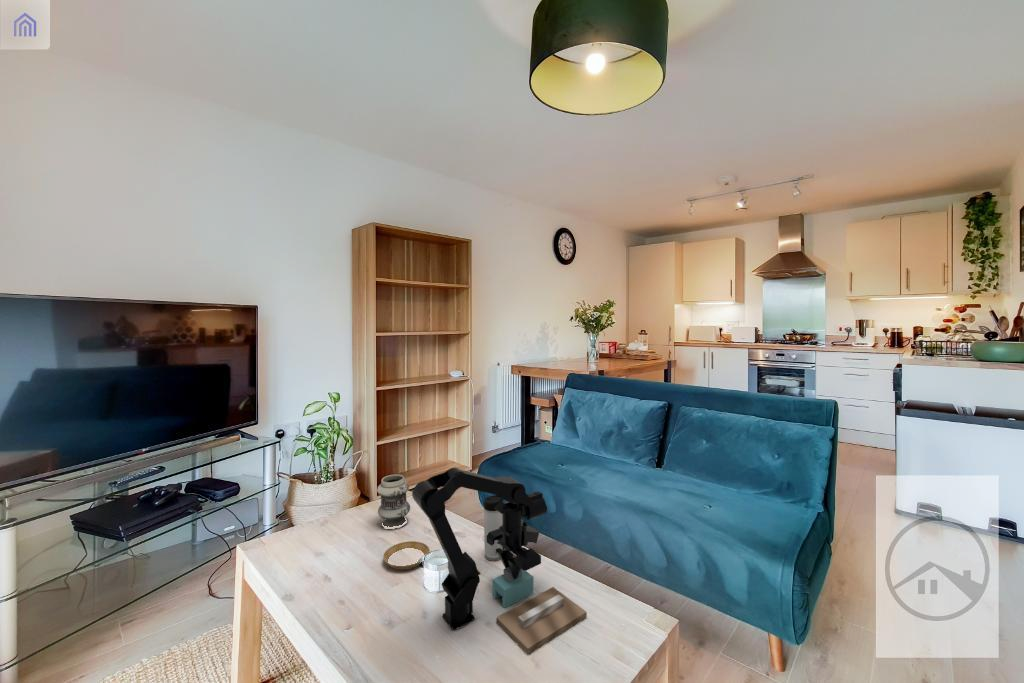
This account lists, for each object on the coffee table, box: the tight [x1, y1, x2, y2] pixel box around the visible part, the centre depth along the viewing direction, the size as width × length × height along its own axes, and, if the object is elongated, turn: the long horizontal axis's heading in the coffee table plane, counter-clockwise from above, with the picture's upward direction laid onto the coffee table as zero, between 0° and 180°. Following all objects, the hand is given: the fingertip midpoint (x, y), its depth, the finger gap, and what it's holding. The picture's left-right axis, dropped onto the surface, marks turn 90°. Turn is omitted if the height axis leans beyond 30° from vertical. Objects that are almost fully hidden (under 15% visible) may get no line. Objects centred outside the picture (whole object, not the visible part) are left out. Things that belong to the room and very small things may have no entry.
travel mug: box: [483, 494, 505, 562], centre depth 139 cm, size 6×7×20 cm
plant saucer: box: [383, 540, 430, 570], centre depth 138 cm, size 15×15×3 cm
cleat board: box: [495, 586, 588, 655], centre depth 110 cm, size 20×13×4 cm, turn 127°
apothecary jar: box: [376, 473, 411, 527], centre depth 162 cm, size 12×12×18 cm
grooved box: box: [492, 567, 534, 609], centre depth 120 cm, size 10×6×8 cm, turn 127°
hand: (512, 576), depth 120 cm, fingers closed on grooved box
